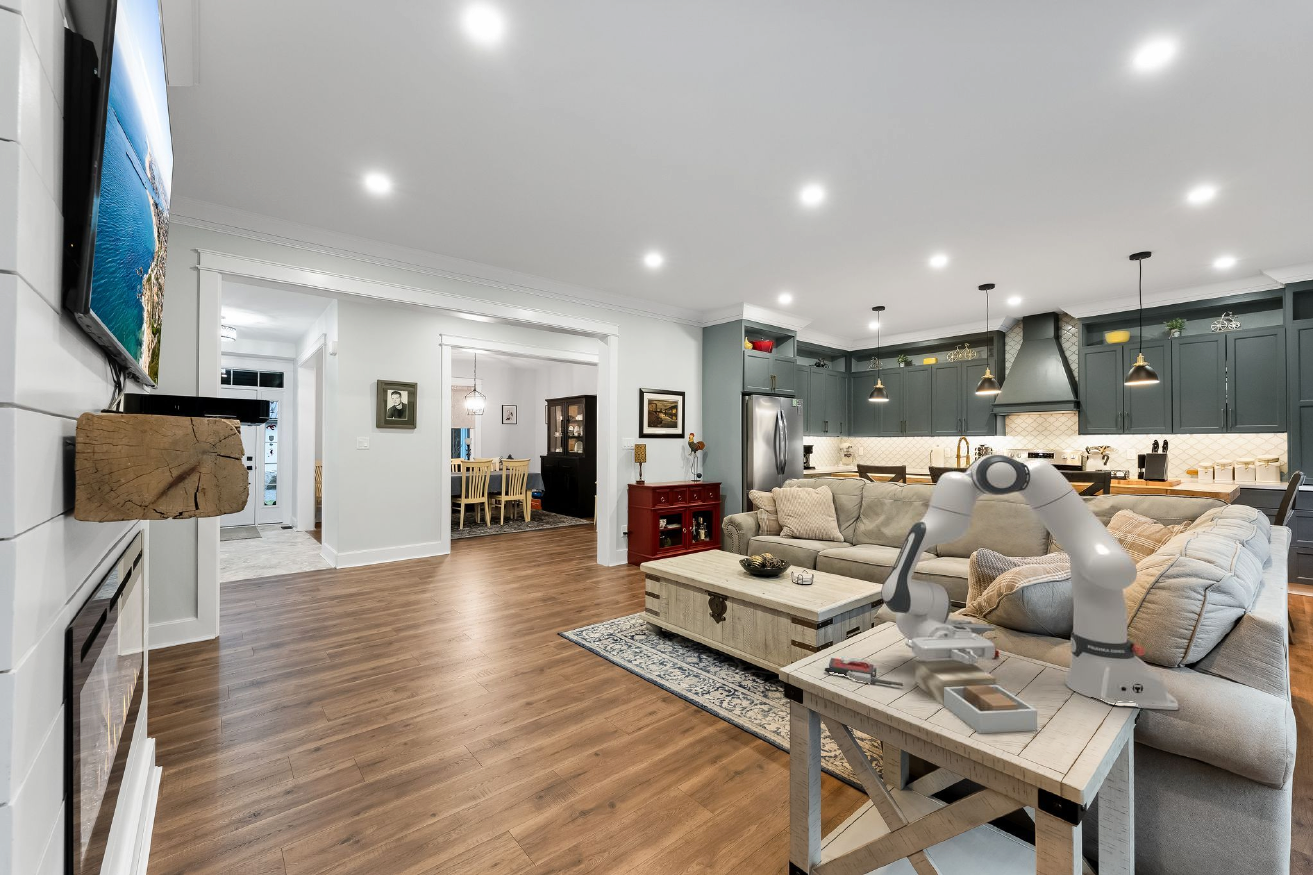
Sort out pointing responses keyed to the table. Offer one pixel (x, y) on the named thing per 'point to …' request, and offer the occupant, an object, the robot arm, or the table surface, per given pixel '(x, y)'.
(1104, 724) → the table surface
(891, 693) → the table surface
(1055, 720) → the table surface
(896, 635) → the table surface
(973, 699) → the walnut block
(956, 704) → the grey bin
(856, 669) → the toy chainsaw
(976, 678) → the pale wood block
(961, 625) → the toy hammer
